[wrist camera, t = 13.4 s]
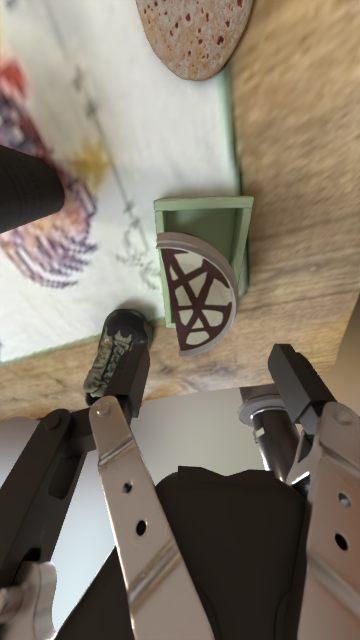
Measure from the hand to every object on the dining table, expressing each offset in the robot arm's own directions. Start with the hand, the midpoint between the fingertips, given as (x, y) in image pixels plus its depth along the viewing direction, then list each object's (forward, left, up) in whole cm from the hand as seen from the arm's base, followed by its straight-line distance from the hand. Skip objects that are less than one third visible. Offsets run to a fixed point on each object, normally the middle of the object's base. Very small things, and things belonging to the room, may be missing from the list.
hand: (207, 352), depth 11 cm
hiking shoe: (-15, +14, -15) cm, 25 cm away
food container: (0, 0, -15) cm, 15 cm away
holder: (0, 0, -15) cm, 15 cm away
